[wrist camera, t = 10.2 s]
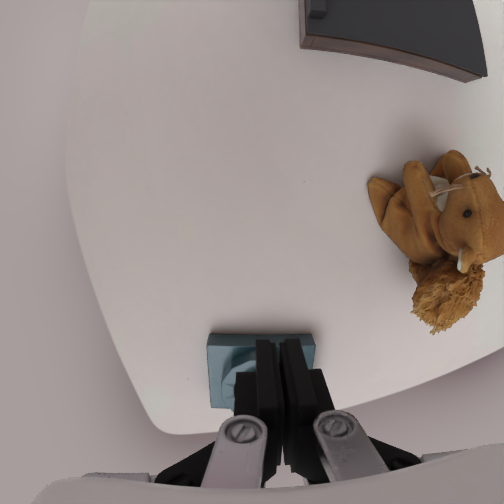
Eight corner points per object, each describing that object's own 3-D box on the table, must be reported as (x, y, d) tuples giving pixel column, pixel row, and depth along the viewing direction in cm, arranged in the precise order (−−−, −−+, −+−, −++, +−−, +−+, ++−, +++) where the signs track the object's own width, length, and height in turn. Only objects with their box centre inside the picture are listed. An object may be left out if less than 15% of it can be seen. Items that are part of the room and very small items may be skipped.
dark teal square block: (212, 395, 32) (209, 419, 28) (209, 333, 30) (204, 355, 26) (304, 395, 32) (309, 419, 28) (311, 333, 30) (319, 355, 26)
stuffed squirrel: (447, 147, 26) (544, 146, 13) (458, 279, 29) (538, 331, 16) (360, 160, 26) (443, 158, 13) (380, 304, 30) (446, 381, 17)
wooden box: (299, 48, 23) (305, 35, 20) (296, -35, 21) (300, -52, 18) (465, 83, 24) (482, 77, 21) (451, 3, 21) (465, -6, 18)
